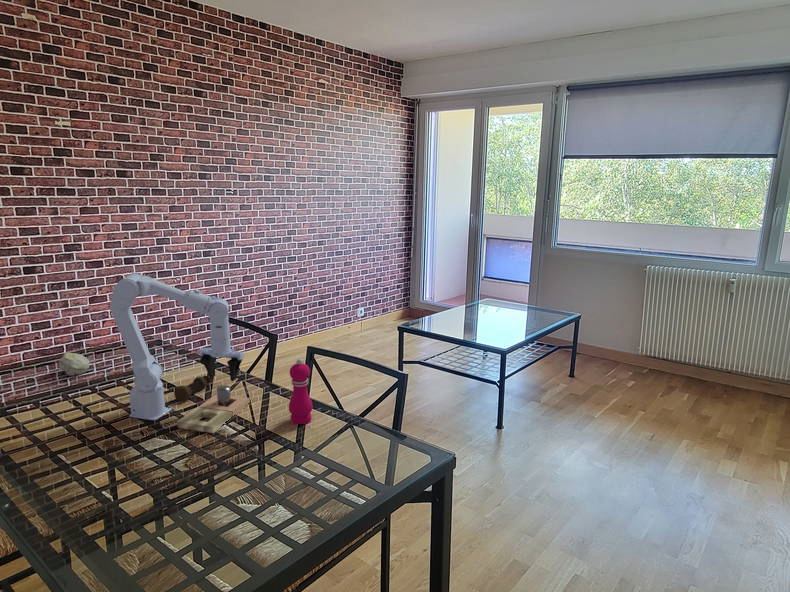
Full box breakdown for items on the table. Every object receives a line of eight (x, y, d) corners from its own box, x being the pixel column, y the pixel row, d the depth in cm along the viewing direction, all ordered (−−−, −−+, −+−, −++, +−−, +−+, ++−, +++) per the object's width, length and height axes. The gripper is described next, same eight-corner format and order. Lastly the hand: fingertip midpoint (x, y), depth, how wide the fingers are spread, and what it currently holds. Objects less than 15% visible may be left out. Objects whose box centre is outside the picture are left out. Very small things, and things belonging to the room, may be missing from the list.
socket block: (199, 412, 163) (198, 406, 162) (217, 399, 172) (217, 393, 172) (233, 417, 160) (232, 411, 159) (249, 403, 169) (249, 398, 169)
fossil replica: (83, 366, 200) (55, 376, 192) (77, 345, 197) (49, 355, 190) (98, 370, 193) (70, 381, 185) (92, 350, 191) (63, 359, 183)
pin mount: (177, 427, 153) (177, 421, 152) (198, 412, 162) (197, 407, 162) (213, 433, 150) (212, 426, 150) (232, 417, 159) (231, 412, 159)
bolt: (209, 389, 185) (183, 405, 170) (198, 381, 185) (171, 397, 171) (216, 376, 183) (190, 392, 169) (205, 368, 183) (178, 383, 169)
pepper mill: (317, 418, 160) (316, 357, 156) (304, 428, 154) (302, 365, 149) (298, 413, 163) (296, 353, 159) (284, 422, 157) (282, 360, 152)
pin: (215, 410, 164) (214, 389, 163) (222, 404, 168) (221, 384, 167) (226, 411, 164) (225, 391, 162) (233, 406, 167) (232, 386, 166)
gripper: (192, 339, 158) (195, 380, 162) (234, 343, 155) (236, 386, 158) (205, 332, 165) (208, 372, 168) (246, 336, 162) (248, 377, 165)
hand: (222, 378), depth 164 cm, fingers open, 7 cm apart
